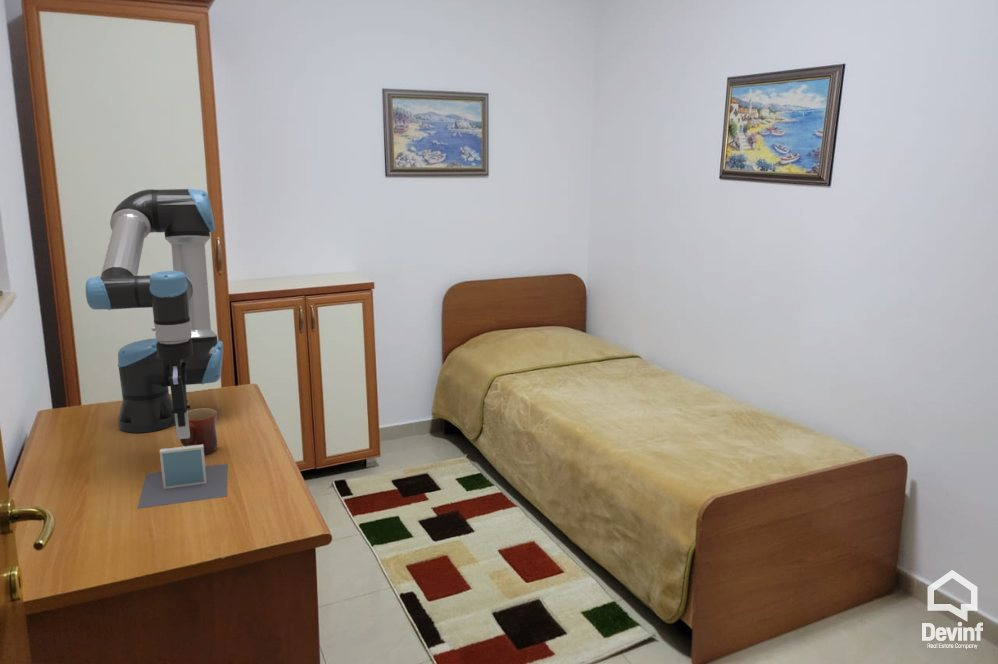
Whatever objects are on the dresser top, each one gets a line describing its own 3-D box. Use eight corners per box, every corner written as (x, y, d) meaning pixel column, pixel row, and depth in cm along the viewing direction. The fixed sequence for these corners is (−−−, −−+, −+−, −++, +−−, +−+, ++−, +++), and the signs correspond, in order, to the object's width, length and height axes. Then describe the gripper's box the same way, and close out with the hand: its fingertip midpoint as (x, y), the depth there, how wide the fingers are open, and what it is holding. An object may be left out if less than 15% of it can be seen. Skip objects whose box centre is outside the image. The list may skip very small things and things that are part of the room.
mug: (197, 443, 190) (193, 406, 187) (227, 446, 188) (224, 409, 186) (168, 462, 178) (163, 423, 176) (200, 466, 177) (196, 426, 174)
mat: (146, 475, 171) (146, 473, 171) (227, 465, 177) (227, 463, 177) (137, 510, 155) (137, 508, 155) (227, 498, 161) (226, 496, 161)
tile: (164, 485, 165) (160, 449, 163) (206, 480, 168) (203, 444, 166) (163, 488, 164) (159, 451, 162) (206, 483, 167) (203, 447, 164)
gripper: (158, 334, 169) (168, 429, 175) (152, 348, 157) (163, 449, 163) (193, 332, 172) (202, 426, 177) (190, 345, 160) (199, 445, 165)
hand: (183, 437), depth 170 cm, fingers closed
